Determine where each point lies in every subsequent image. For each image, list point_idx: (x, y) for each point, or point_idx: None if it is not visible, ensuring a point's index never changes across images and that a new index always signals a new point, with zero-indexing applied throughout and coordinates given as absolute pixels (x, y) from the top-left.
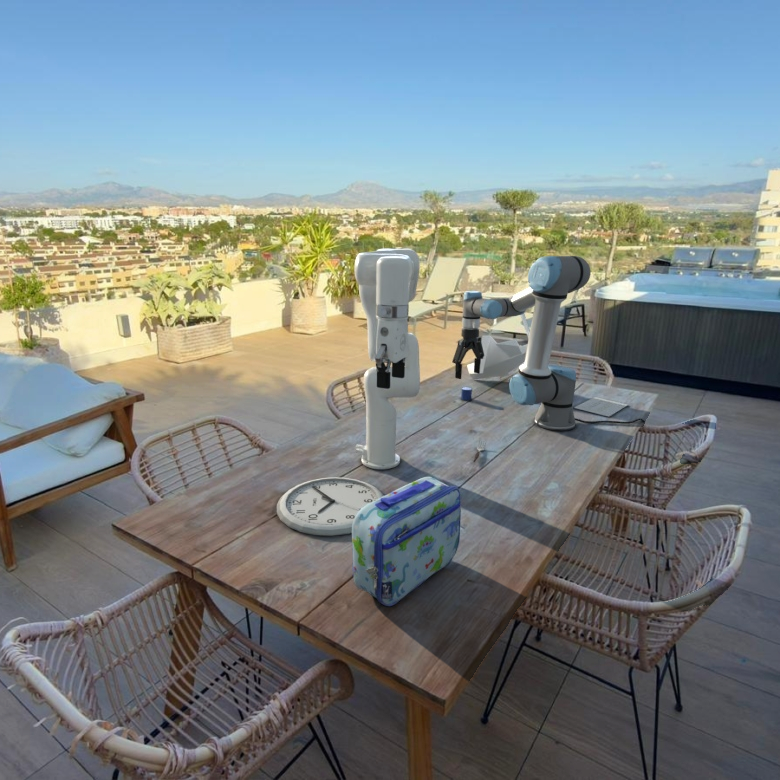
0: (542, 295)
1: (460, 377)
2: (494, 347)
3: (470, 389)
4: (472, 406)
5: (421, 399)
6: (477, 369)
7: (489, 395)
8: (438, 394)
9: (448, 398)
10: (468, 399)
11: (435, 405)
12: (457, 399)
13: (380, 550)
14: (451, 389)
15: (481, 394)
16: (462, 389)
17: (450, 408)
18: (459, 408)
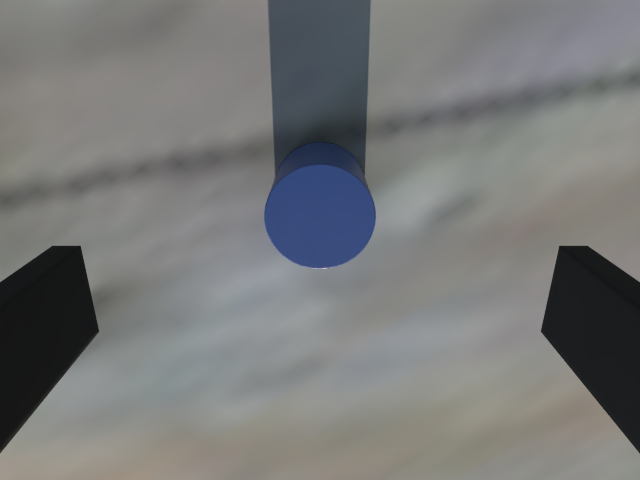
0: None
1: (598, 257)
2: None
3: (317, 171)
4: (458, 13)
5: (563, 396)
6: (52, 301)
7: (59, 102)
8: (381, 389)
9: (410, 291)
10: (341, 149)
11: (631, 256)
12: (380, 230)
13: None
14: (210, 398)
15: (103, 172)
16: (369, 236)
17: (633, 126)
18: (587, 68)
